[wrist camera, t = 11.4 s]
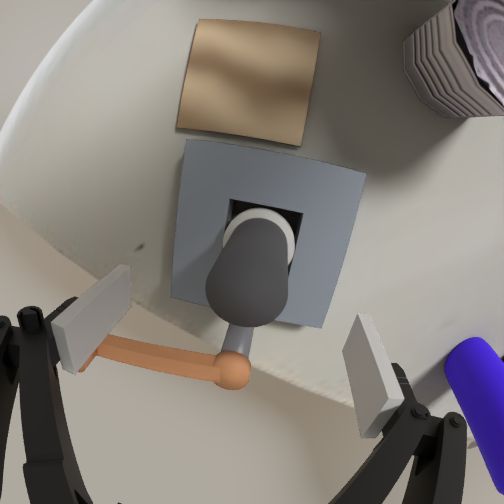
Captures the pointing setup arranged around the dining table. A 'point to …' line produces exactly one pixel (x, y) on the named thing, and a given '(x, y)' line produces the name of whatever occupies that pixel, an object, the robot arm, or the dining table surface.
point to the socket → (270, 194)
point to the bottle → (481, 399)
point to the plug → (252, 269)
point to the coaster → (249, 79)
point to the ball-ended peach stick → (177, 361)
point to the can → (459, 59)
